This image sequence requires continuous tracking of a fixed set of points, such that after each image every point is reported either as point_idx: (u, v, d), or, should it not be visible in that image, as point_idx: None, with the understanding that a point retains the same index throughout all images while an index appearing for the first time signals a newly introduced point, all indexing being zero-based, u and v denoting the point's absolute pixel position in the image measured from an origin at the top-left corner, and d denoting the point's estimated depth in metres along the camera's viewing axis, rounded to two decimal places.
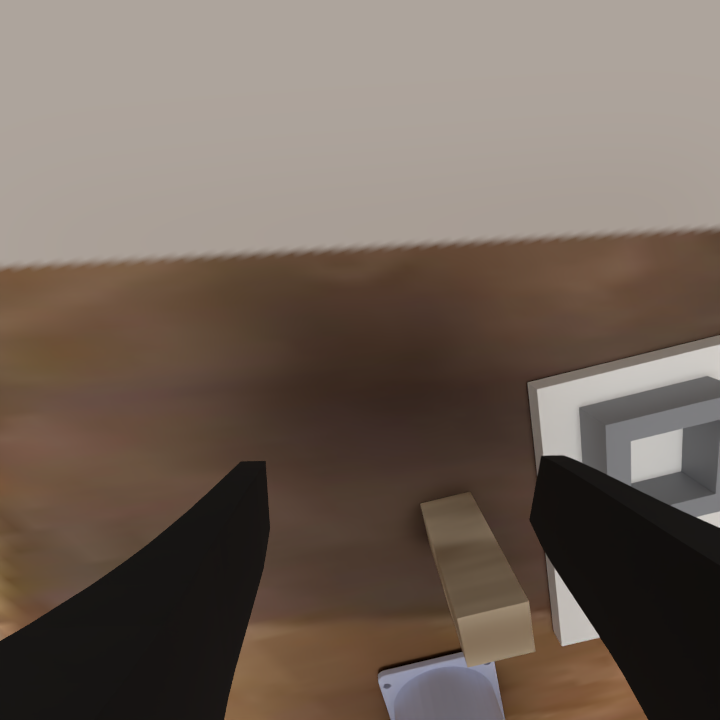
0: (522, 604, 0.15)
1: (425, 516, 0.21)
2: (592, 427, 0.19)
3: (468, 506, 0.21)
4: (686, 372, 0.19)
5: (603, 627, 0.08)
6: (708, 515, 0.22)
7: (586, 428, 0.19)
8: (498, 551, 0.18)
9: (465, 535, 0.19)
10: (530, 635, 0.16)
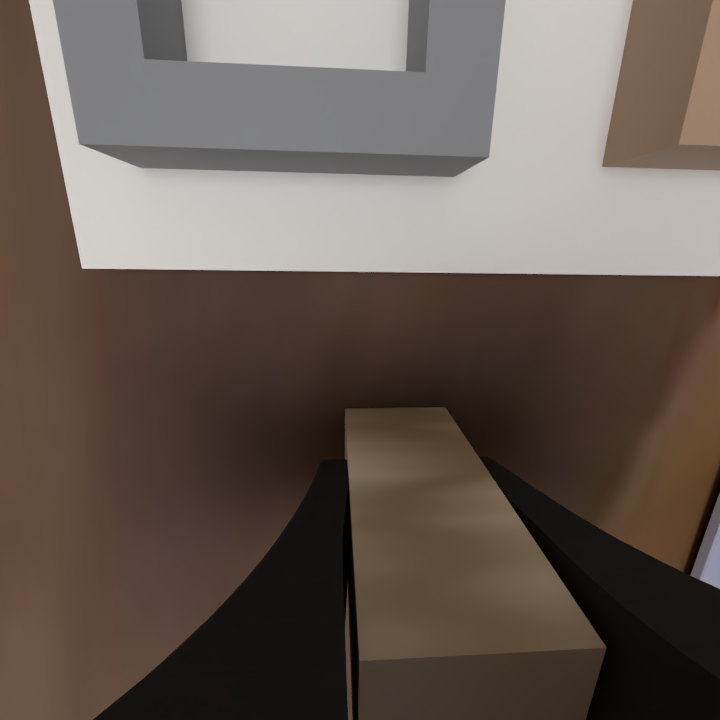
0: (369, 674, 0.04)
1: None
2: (149, 158, 0.07)
3: None
4: None
5: None
6: None
7: (177, 164, 0.08)
8: (350, 516, 0.07)
9: None
10: (521, 658, 0.04)
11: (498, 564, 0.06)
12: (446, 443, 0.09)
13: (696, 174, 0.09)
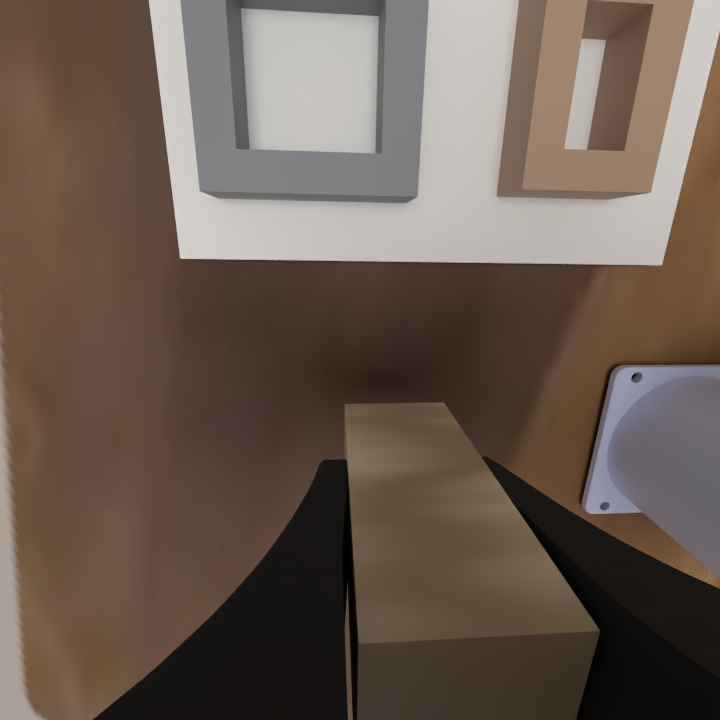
0: (368, 657, 0.05)
1: None
2: (229, 195, 0.12)
3: (345, 437, 0.10)
4: None
5: None
6: None
7: (242, 197, 0.13)
8: (349, 507, 0.07)
9: None
10: (517, 642, 0.05)
11: (495, 552, 0.06)
12: (444, 437, 0.09)
13: (555, 201, 0.14)
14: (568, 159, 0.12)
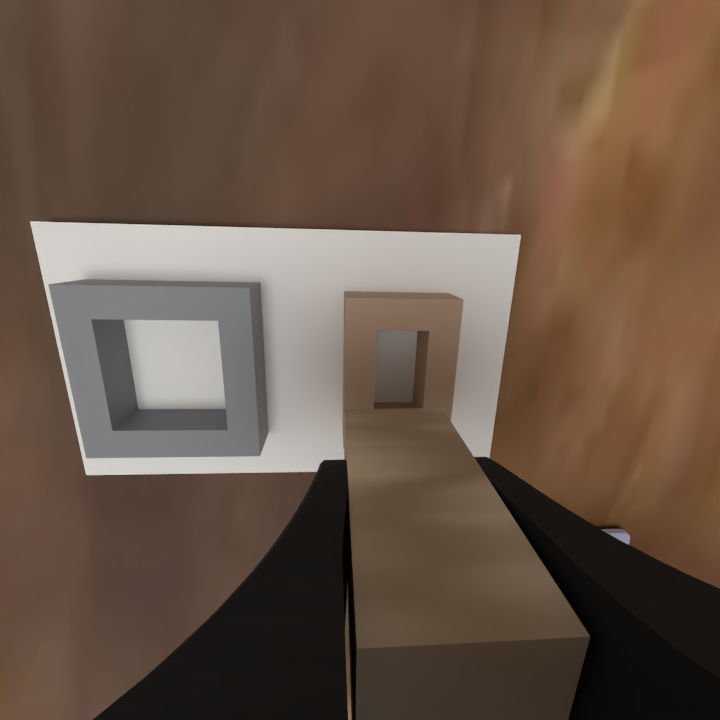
0: (365, 661, 0.05)
1: None
2: None
3: (345, 442, 0.10)
4: None
5: None
6: (321, 269, 0.15)
7: None
8: (349, 514, 0.07)
9: None
10: (510, 647, 0.05)
11: (490, 559, 0.06)
12: (443, 443, 0.09)
13: None
14: None
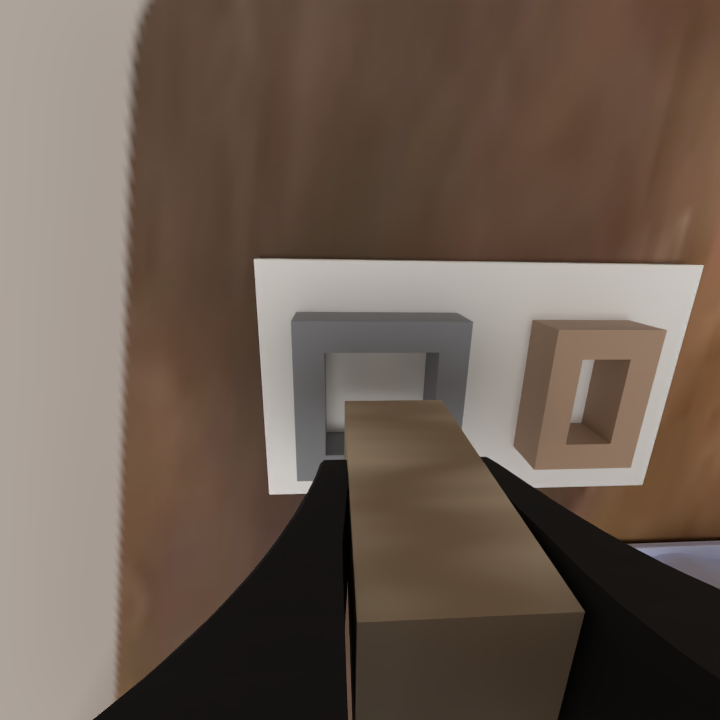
0: (365, 635, 0.05)
1: None
2: None
3: (345, 432, 0.10)
4: (285, 337, 0.16)
5: None
6: (514, 299, 0.16)
7: None
8: (349, 499, 0.07)
9: None
10: (506, 622, 0.05)
11: (487, 540, 0.06)
12: (441, 433, 0.10)
13: None
14: (568, 450, 0.16)
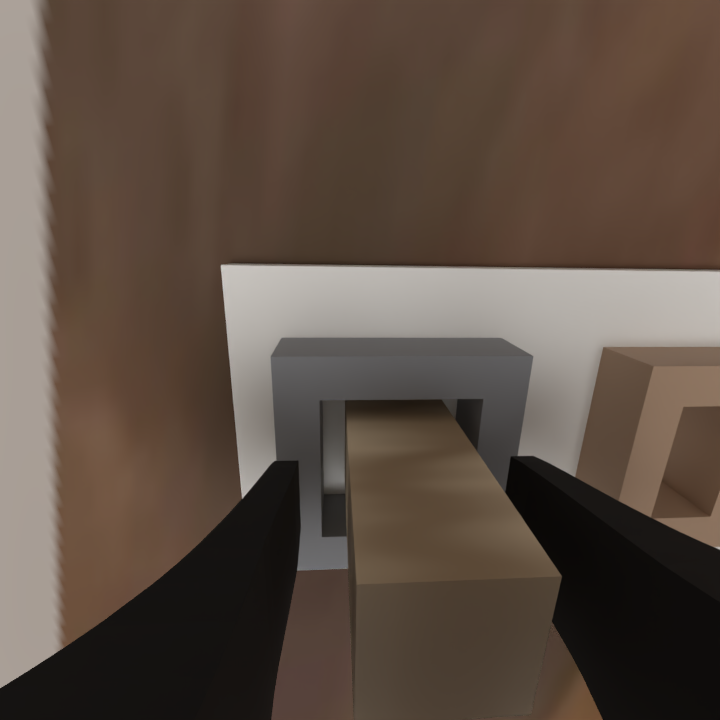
0: (364, 597, 0.05)
1: (345, 494, 0.12)
2: None
3: None
4: (267, 372, 0.12)
5: (565, 629, 0.08)
6: (580, 320, 0.12)
7: None
8: None
9: (347, 487, 0.09)
10: (491, 585, 0.05)
11: (476, 517, 0.07)
12: (437, 423, 0.10)
13: None
14: None
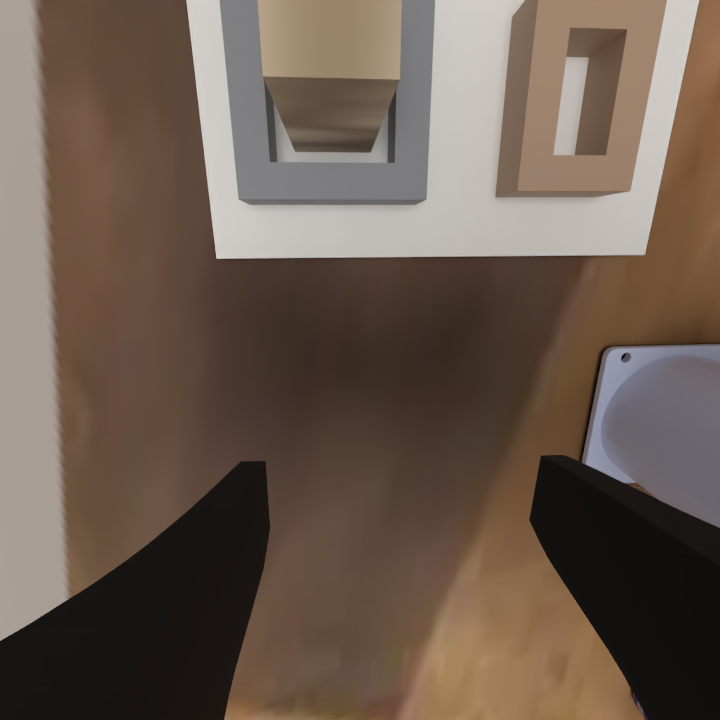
0: None
1: None
2: (261, 202, 0.14)
3: None
4: (222, 35, 0.14)
5: (603, 627, 0.08)
6: None
7: (272, 203, 0.15)
8: None
9: None
10: None
11: None
12: None
13: (548, 199, 0.16)
14: (557, 163, 0.14)
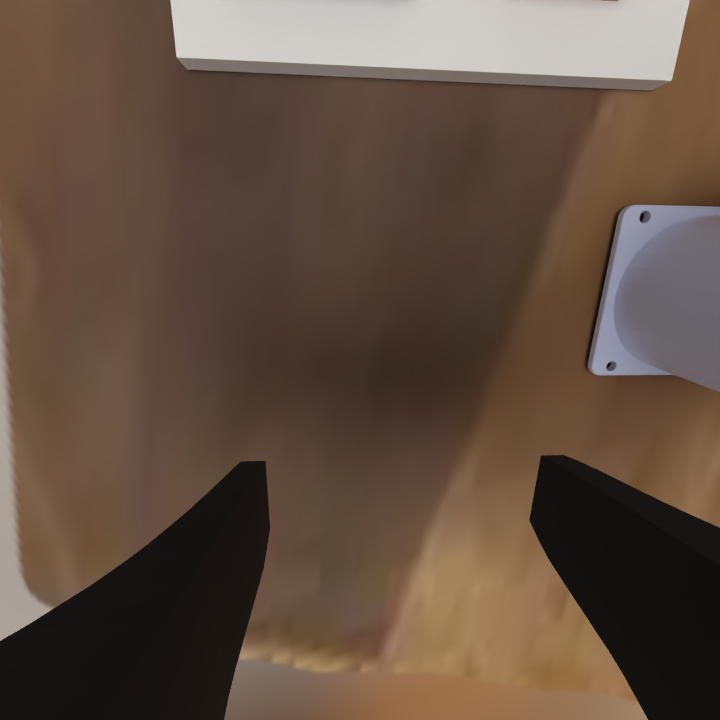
0: None
1: None
2: None
3: None
4: None
5: (603, 627, 0.08)
6: None
7: None
8: None
9: None
10: None
11: None
12: None
13: (562, 1, 0.14)
14: None
